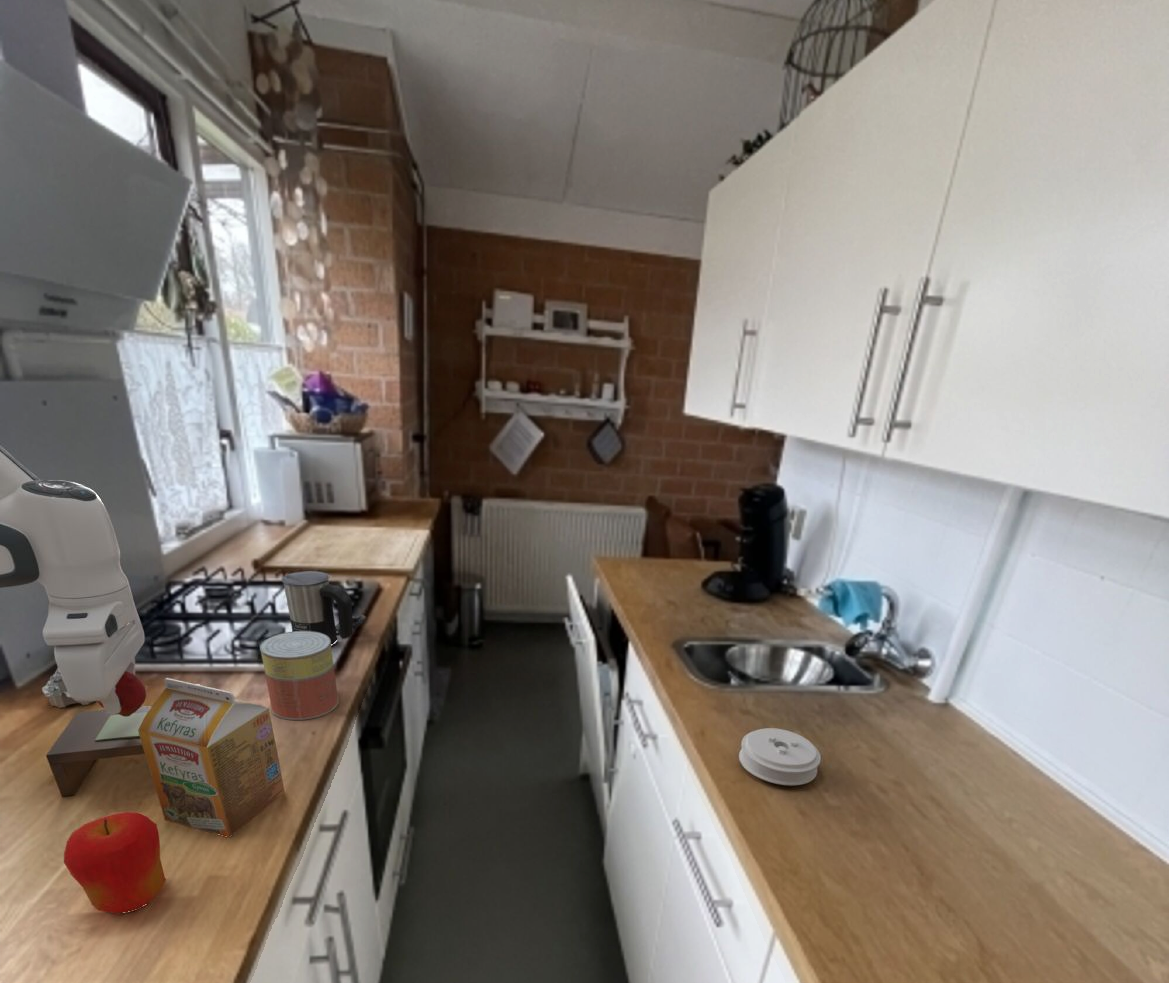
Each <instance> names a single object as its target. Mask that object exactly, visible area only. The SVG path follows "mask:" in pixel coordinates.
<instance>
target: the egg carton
mask: <svg viewBox="0 0 1169 983" xmlns="http://www.w3.org/2000/svg"><path fill="white" fill-rule="evenodd" d="M41 691H42V693H43V694H44V696H45V697H47V698H48V700H49V704H50V706H54V707H57V708H59V709H60V708H61V709H62V708H66V707H67V706H69V705H74V704H81V706H87V705H90V704H91V703H93V702H94V701H91V702H77V701H75V700H74V699H73V698H72V697H71V696H70V695H69V693H68V691H67V689H66V686H65V684H64V682H63V679H62V677H61V674H60V672H59V669H58V667H57V668H56V671H55V672H54V673H53V675H51V676H50V678H49V680H47V682H46V684H45V685H44V686H43V687H41Z"/></svg>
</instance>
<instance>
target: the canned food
mask: <svg viewBox="0 0 1169 983" xmlns="http://www.w3.org/2000/svg"><path fill="white" fill-rule="evenodd" d="M259 651H260V654H261V658H262V664H263V670H264V675H265V681H266V685H267V692H268V697H269V702H270V711H271V713H272V714H273V715H274V716H276V717H278V718H280V719H283V720H289V721H304V720H305V721H307V720H310V719H316V718H319V717H322V716H325V715H327V714H329V713H331V712H332V711H334V710H335V709H336V708H337V707H338V705H339V702H340V699H339V696H338V689H337V681H336V673H335V666H334V659H333V651H332V647H331V639H330V638H329V637H328V636H327V635H325V634H322V633H319V632H312V631H294V632H292V631H288V632H283V633H279V634H275V635H273V636H270V637H268V638H266V639H265V640H263V641H262V642H261V644H259Z"/></svg>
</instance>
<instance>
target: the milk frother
mask: <svg viewBox="0 0 1169 983" xmlns="http://www.w3.org/2000/svg"><path fill="white" fill-rule="evenodd" d="M330 578H331V577H330V575H329V574H328V573H326V572H323V571H317V570H315V571H314V570H313V571H312V570H309V571H308V570H307V571H298V572H292V573H289V574H286V575H284V576H282V578H281V582H282V583H283V587H284V592H285V593H284V594H285V598H286V604H287V609H288V614H289V620H290V626H291V632H294V631H312V632H319V633H322V634H325V635H327V636H328V637H329V638H330V639H331V644H333V643H334V642H335V641H336V640H337V638H338V636H340V638H341V639H348V638H349V637H351V636H352V635H353V634H354V629H356V628H358V627H359V626H361V625H363V624H364V623H365V622H366V621H367V616H365V615H363V614H360V615H359V614H358V615H353V608H352V607H353V606H352V600H351V596H350V595H349V593H348V592H347V590H345V589H344V588H342V587H341V586H338V585H333V584H330V582H329V579H330ZM332 599H333V600H334V602H335V603H336V606H337V617H338V623H336V621H335V620H336V619H335V614H334V607H333V606H334V605H333V602H332V601H333V600H332Z"/></svg>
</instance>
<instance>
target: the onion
mask: <svg viewBox="0 0 1169 983" xmlns="http://www.w3.org/2000/svg"><path fill="white" fill-rule="evenodd" d="M115 687H116V690H115V693H116V695H117V696H118V697H121V700H122V704H123V707H122V709H121V711H120V712H119V713H116V714H119V715H121V716H124V717H128V716H130V715H131V714H133V713H134V712H136V711H137V710H138V709H139V708H140V707H141V706H143V705H144V703H145V702H146V698H147V689H146V686H145V684H144V682H143V681H142V680H141V678H139V677H138V676H137V675H136V674H135V675H134V674H132V673H130V672H127V671H125V672H124V674H123V675H122V677H121V678H120V680H119V681H118V683H117V684H116V686H115ZM97 703H98V705H99V706H100V707H101V708H102V709H104V707H103V704H102V703H101V702H100V701H97Z"/></svg>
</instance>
